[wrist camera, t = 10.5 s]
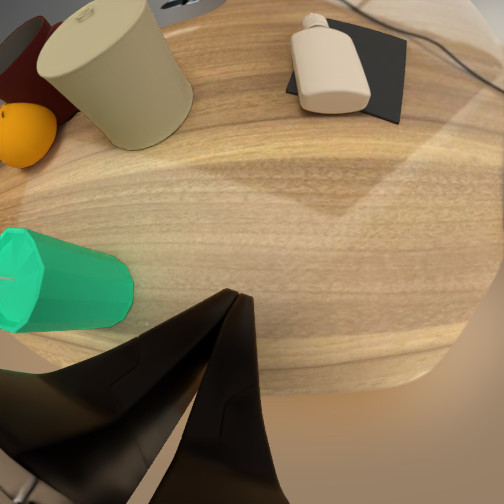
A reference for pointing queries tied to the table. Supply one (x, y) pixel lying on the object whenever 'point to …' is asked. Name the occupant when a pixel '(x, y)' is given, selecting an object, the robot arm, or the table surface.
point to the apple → (25, 133)
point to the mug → (30, 70)
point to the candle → (59, 285)
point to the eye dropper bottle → (327, 69)
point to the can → (118, 72)
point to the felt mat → (375, 68)
